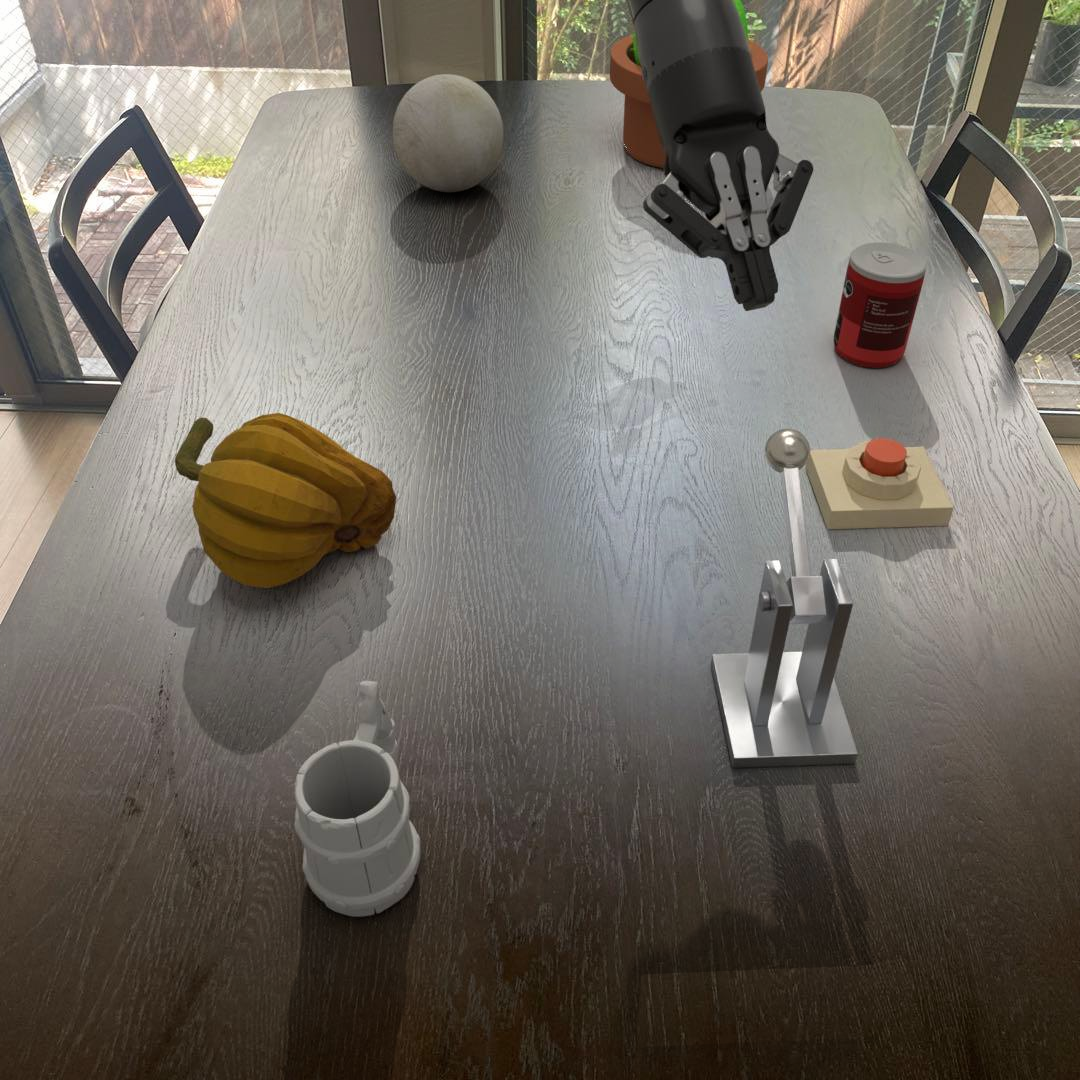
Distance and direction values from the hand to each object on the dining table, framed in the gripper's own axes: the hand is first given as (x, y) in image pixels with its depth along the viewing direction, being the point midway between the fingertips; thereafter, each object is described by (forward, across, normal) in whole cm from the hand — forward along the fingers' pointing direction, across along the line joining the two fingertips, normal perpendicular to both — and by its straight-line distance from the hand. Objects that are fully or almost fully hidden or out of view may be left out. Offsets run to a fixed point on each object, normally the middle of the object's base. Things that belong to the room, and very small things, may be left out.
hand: (760, 306), depth 76 cm
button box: (+15, +18, +21) cm, 32 cm away
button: (+13, +18, +19) cm, 29 cm away
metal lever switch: (+29, -3, +8) cm, 30 cm away
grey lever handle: (+16, -1, +2) cm, 16 cm away
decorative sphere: (-41, 0, +77) cm, 87 cm away
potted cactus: (-42, +36, +78) cm, 96 cm away
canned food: (0, +31, +37) cm, 48 cm away
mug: (+29, -35, +7) cm, 46 cm away
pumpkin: (+7, -35, +30) cm, 46 cm away
